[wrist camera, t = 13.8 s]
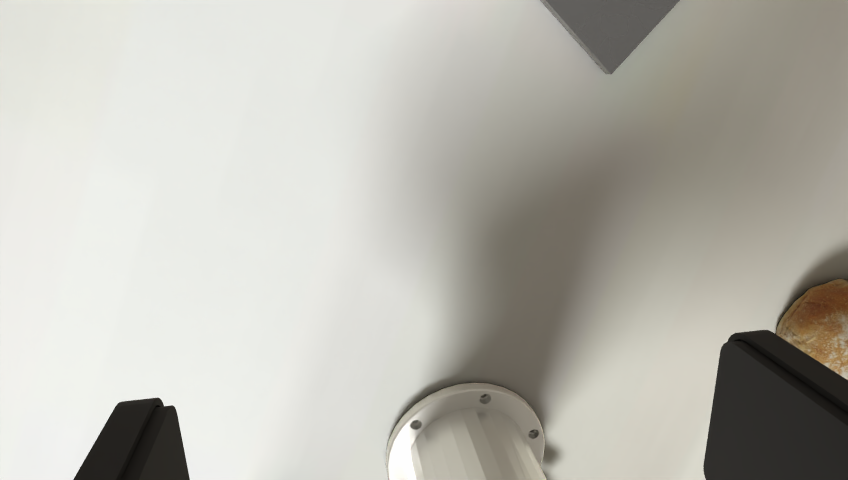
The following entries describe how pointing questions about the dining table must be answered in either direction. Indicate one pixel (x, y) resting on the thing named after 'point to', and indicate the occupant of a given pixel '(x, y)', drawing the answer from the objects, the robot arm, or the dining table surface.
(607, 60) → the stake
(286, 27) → the dining table surface
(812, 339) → the bread roll
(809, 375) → the robot arm
